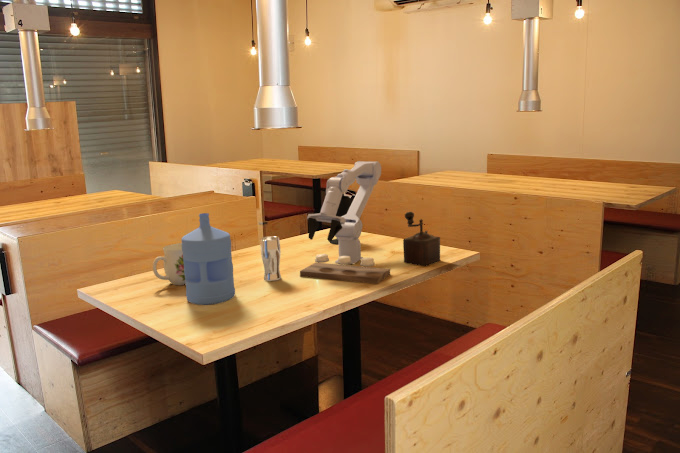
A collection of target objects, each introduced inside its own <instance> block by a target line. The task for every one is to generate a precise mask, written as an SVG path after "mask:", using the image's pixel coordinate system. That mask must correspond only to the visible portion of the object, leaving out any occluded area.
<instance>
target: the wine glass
mask: <svg viewBox="0 0 680 453" xmlns="http://www.w3.org/2000/svg"><path fill="white" fill-rule="evenodd" d="M351 204H352V201H351V197H350V196H348V195H342V197H341V201H340V204H339V207H338V210H337V213H336V216H338V217H342V216H344V215H346V214H347V212H348V210H349V208H350V206H351ZM329 243H330V244H331V245H338V246H339V244H338V239H337V238H333V239H332V241H331V242H329Z"/></svg>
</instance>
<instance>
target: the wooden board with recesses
mask: <svg viewBox="0 0 680 453" xmlns="http://www.w3.org/2000/svg"><path fill="white" fill-rule="evenodd" d="M388 275H389V276H390V275H391V269H390V268H383V267H381V268H380V267H373V266H370V267H364V266H361V265H360V266H358V265H350V264H346V265H341V264H338V263H328V262H324V263H318V262H314V263H312V264H310V265H309V266H307V267H305V268H303V269H301V270H299V276H300V277H303V278H304V277H305V278H314V279H322V280H332V281H333V280H334V281H344V282H353V283H354V282H355V283H364V284H372V285H374V284H375V285H378V284H380V282H382V281H383V280H385V279H386V278H387V277H389V276H388Z"/></svg>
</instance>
